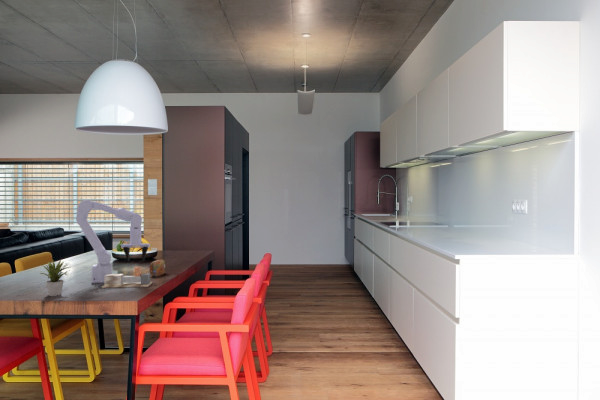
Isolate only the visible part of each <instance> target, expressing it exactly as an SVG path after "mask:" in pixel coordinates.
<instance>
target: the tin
mask: <svg viewBox="0 0 600 400" xmlns="http://www.w3.org/2000/svg"><path fill="white" fill-rule="evenodd" d="M166 270H167V262H166V260H164V259H158V260H154V261H152V262H150V263H149V273H150V277H151V276H152V277H159V276H161V275H164V274H165V273H166Z"/></svg>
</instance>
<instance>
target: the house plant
mask: <svg viewBox="0 0 600 400" xmlns="http://www.w3.org/2000/svg"><path fill="white" fill-rule="evenodd" d="M51 260H52V263H50V261H48V262H47V264H45V265H44V264H41V266H42V267H44V269H45V270H46V271H47V274H46V273H44V272H41V273H39V274H40V275H44V276H47V279H50V280H47V281H45V284H46V289H47V290H46V291H47V294H48V296H49V297H56V296H57V295H58V296H61V295H62V292H63V285H64V279H61V278H62V277H63V275H66V276H68V270H66V269H69V268H71V266H68V265H70V262H69V263H65V261H62V259H60V260H59V261H58V263H57V264H56V263H55V262H54V258H52V259H51ZM63 270H66V271H63ZM70 271H71V270H69V272H70ZM58 296H57V297H58Z"/></svg>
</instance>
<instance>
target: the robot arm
mask: <svg viewBox="0 0 600 400" xmlns="http://www.w3.org/2000/svg"><path fill="white" fill-rule="evenodd" d="M98 210H100V211H102V212H105V213H109V214H113V215H114V216H115V218H116V219H118V220H122V221H124V222H130V227H129V243H121V244H120V248H121V249H122V250H123V253H124V255H125V257H126V262H130V260H131V259H130V257H131V256H130V253H131V252H130V251H131V250H130V249H132V248H141V253H142V254H141V261H142V262H145V258H146V254H147V252H148V249H149V248H150V247H151V243H142V220H143V218H142V215H141V214H140V213H137V212H135V211H133V210H128V209H126V208H125V207H118V208H115V207H113V206H109V205H107V204H105V203H101V202H99V201H93V200H90V199H83V200H81V201H80V202H79V204H78V206H77V208H76V216H75V221H76V223H77V225H78V226H79V228H80V229H81V231H82V232H83V234H84V236H85V238H86V239H87V241H88V242H89V244H90V245H91V247H92V249H93V250H94V252H95V255H96V256H97V262H98V263H96V264H93V265H92V268H91V283H92V284H98V283H99V284H100V283H103V284H104V276H105V275H107V274H113V263H112V262H111V260H112V255H111V253H110V252H109V251H108V250H106V248H105V246H104V245H103V244H102V242H101V240H100V239H99V237H98V236H97V234H96V232H95V230H94V229H93V227H92V225H91V224H90V222H89V221H88V216H89V213H90V212H91V211H98Z"/></svg>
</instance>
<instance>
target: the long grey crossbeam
mask: <svg viewBox="0 0 600 400" xmlns="http://www.w3.org/2000/svg"><path fill="white" fill-rule="evenodd" d="M141 275H142V266H135V267H134V275H124V276H122V283H139V282H141Z"/></svg>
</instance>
